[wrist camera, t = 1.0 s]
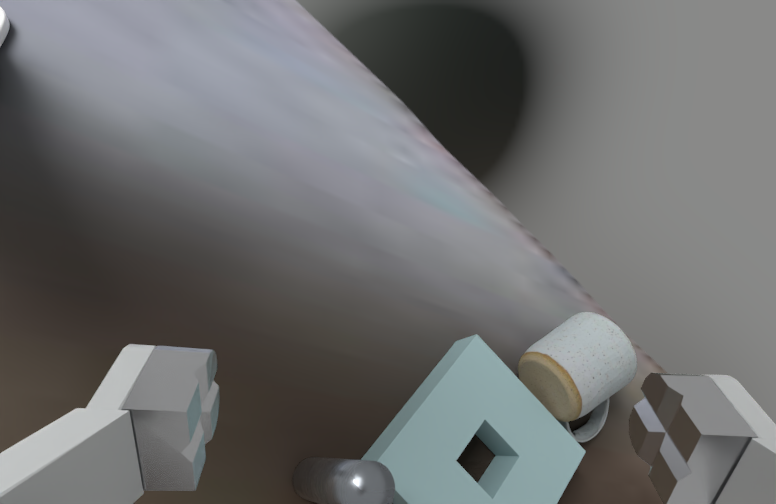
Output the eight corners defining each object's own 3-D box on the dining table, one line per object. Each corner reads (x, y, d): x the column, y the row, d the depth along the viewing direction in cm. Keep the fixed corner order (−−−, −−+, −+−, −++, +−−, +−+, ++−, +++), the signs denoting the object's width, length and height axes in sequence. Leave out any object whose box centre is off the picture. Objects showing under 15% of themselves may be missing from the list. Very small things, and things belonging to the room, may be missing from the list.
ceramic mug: (498, 358, 51) (553, 347, 44) (554, 318, 55) (612, 302, 48) (556, 461, 50) (620, 465, 44) (608, 413, 54) (674, 410, 48)
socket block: (356, 465, 43) (372, 466, 40) (456, 340, 50) (476, 334, 47) (477, 590, 44) (502, 601, 41) (559, 451, 51) (585, 451, 48)
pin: (284, 480, 40) (334, 492, 30) (312, 448, 42) (369, 449, 32) (312, 509, 41) (372, 531, 30) (338, 476, 42) (404, 486, 32)
